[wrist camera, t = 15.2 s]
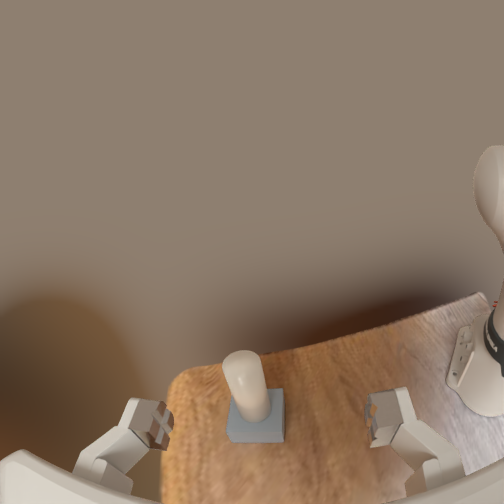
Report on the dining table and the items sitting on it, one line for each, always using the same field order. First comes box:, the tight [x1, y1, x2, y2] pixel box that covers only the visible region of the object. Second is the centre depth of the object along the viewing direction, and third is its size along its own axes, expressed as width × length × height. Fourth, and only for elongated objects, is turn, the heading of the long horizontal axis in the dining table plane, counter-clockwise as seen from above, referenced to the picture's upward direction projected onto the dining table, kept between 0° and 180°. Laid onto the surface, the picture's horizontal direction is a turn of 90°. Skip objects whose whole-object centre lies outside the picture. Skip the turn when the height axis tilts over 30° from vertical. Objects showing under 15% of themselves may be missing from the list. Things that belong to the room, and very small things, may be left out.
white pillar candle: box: [222, 350, 271, 423], centre depth 36 cm, size 5×5×11 cm
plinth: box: [226, 388, 285, 443], centre depth 39 cm, size 8×8×4 cm
